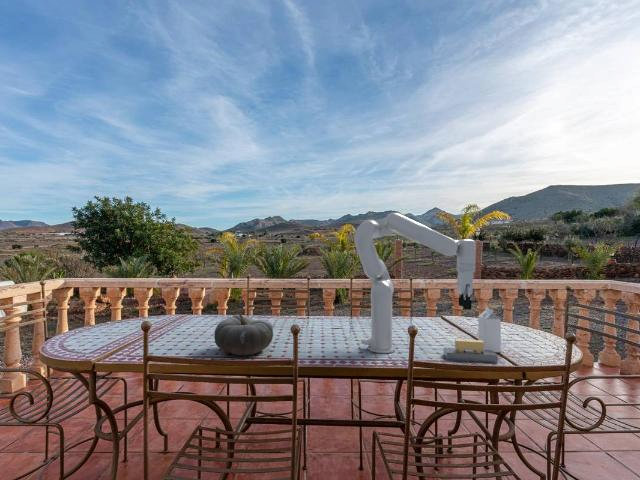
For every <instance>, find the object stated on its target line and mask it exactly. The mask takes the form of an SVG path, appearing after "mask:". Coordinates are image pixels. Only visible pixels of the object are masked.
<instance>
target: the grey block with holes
mask: <svg viewBox="0 0 640 480" xmlns="http://www.w3.org/2000/svg"><path fill="white" fill-rule="evenodd" d="M443 356H444V358H445V359H446V361H458V362H459V361H462V362H463V361H464V362H477V363H478V362H479V363H496V364H498V360H499V359H498V358H499V356H498V354H496V352H493V351H492V350H484V351H481V353H475V350H464V352H457V349H456V348H455V347H443Z"/></svg>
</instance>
